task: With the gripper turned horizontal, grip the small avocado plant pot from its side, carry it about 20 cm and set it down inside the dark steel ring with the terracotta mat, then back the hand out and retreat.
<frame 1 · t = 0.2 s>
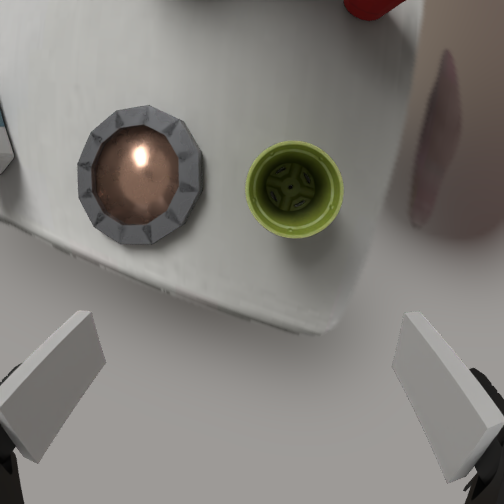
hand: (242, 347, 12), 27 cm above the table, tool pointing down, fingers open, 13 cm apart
steel ring: (137, 175, 38), on the table
plastic cup: (364, 6, 29), on the table
plant pot: (290, 186, 37), on the table
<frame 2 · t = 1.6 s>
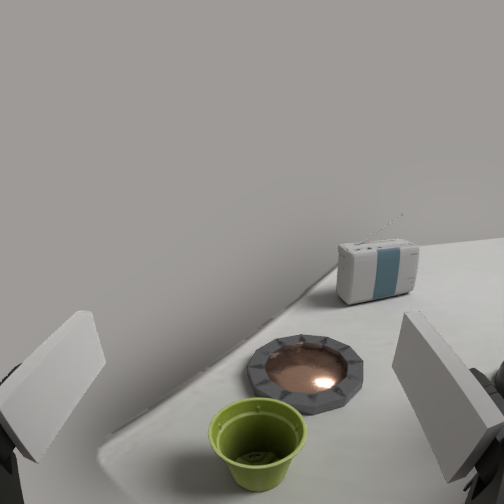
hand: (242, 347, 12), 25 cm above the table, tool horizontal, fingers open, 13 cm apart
steel ring: (306, 373, 46), on the table
stereo radio cassette player: (374, 295, 72), on the table
plant pot: (259, 472, 28), on the table
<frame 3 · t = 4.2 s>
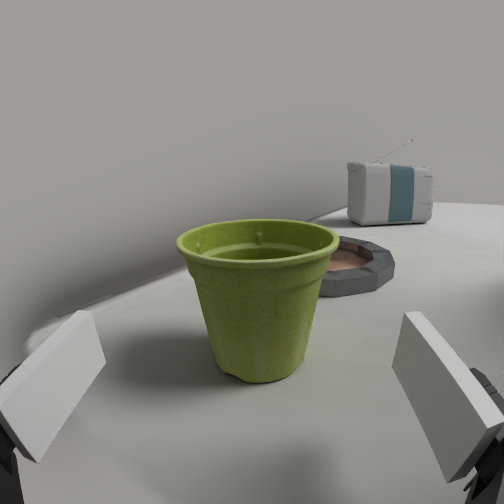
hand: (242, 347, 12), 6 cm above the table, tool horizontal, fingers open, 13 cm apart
steel ring: (320, 265, 38), on the table
stereo radio cassette player: (390, 223, 64), on the table
plant pot: (259, 359, 20), on the table
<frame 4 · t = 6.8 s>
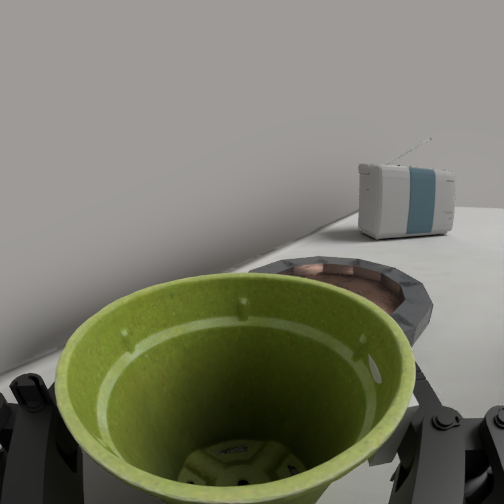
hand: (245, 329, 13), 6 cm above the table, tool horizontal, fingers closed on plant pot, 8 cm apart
steel ring: (333, 304, 28), on the table
stereo radio cassette player: (406, 235, 54), on the table
plant pot: (244, 492, 10), on the table, touching gripper
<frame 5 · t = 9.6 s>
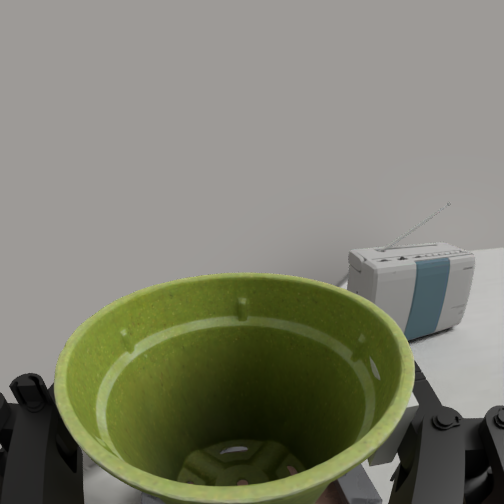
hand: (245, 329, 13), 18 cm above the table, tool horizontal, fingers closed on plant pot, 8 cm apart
stereo radio cassette player: (403, 333, 42), on the table
plant pot: (243, 492, 10), point 11 cm above the table, touching gripper
when the fingers open (8 cm above the table, at t = 12.8 s): plant pot drops 1 cm, resting on steel ring.
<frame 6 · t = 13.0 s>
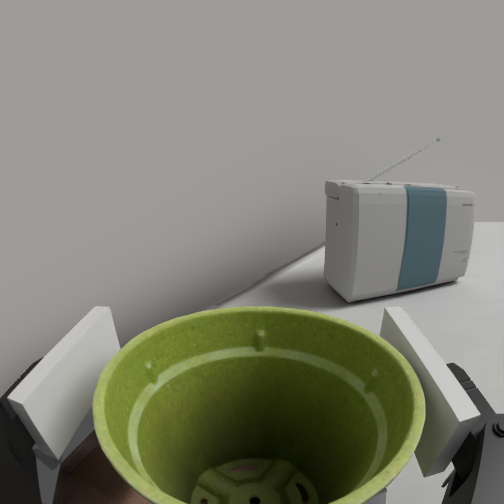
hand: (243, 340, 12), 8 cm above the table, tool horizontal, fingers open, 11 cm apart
stereo radio cassette player: (398, 285, 37), on the table
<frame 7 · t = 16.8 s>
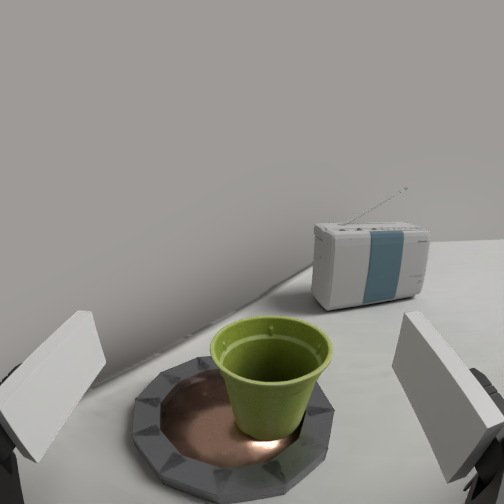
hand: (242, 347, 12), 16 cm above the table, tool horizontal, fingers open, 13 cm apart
steel ring: (232, 422, 25), on the table
stereo radio cassette player: (366, 299, 52), on the table
plant pot: (268, 419, 25), resting on steel ring
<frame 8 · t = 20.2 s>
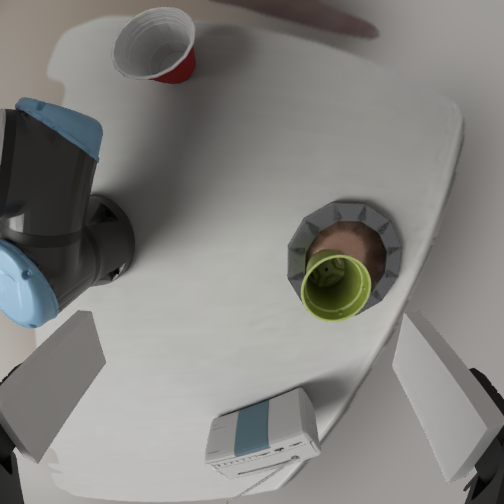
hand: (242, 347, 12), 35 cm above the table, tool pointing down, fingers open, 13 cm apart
steel ring: (344, 259, 46), on the table
stereo radio cassette player: (263, 411, 57), on the table
plastic cup: (177, 66, 39), on the table
plant pot: (325, 267, 46), resting on steel ring
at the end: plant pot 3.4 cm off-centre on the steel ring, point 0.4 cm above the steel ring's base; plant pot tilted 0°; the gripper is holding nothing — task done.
